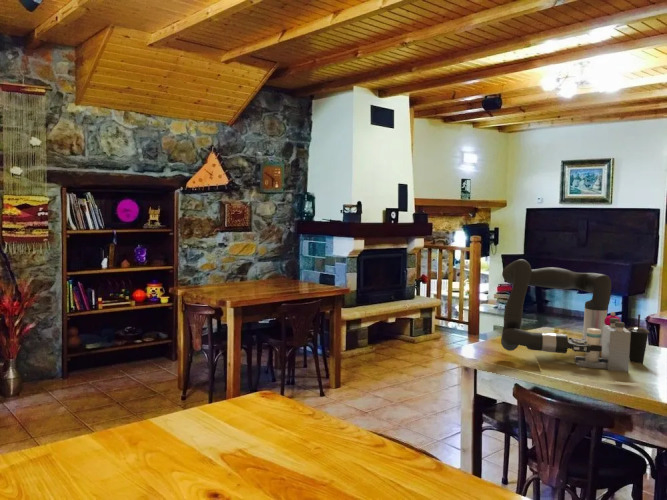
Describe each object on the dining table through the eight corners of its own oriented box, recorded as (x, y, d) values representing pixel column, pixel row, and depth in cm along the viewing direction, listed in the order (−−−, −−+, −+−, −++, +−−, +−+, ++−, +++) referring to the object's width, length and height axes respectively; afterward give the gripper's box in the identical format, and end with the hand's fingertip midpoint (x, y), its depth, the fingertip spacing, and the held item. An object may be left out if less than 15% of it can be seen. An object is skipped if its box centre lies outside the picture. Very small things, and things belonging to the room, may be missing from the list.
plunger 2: (613, 338, 214) (614, 321, 213) (622, 339, 213) (623, 322, 212) (615, 340, 211) (616, 323, 210) (624, 340, 210) (625, 323, 209)
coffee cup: (583, 362, 222) (585, 327, 221) (597, 363, 220) (599, 328, 219) (585, 366, 217) (588, 330, 216) (600, 367, 215) (602, 331, 214)
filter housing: (573, 362, 226) (576, 323, 225) (620, 366, 221) (622, 326, 220) (579, 370, 214) (581, 328, 213) (628, 374, 210) (630, 332, 209)
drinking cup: (621, 360, 230) (624, 312, 229) (639, 361, 231) (642, 312, 229) (632, 366, 222) (636, 316, 221) (651, 366, 223) (654, 316, 222)
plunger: (608, 334, 221) (609, 317, 221) (617, 334, 221) (618, 318, 220) (610, 335, 218) (611, 319, 218) (619, 336, 218) (620, 319, 217)
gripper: (557, 337, 214) (604, 341, 210) (552, 329, 228) (596, 333, 224) (555, 356, 215) (603, 360, 211) (551, 348, 229) (595, 351, 225)
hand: (599, 346), depth 217 cm, fingers open, 6 cm apart
